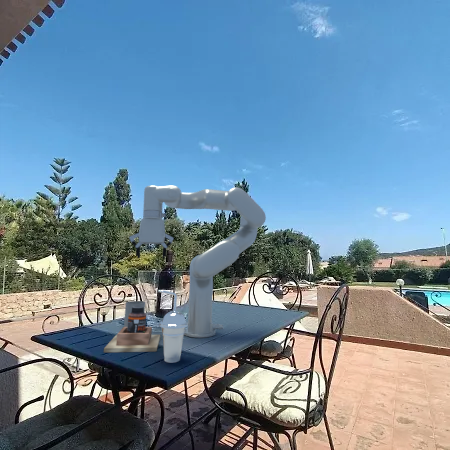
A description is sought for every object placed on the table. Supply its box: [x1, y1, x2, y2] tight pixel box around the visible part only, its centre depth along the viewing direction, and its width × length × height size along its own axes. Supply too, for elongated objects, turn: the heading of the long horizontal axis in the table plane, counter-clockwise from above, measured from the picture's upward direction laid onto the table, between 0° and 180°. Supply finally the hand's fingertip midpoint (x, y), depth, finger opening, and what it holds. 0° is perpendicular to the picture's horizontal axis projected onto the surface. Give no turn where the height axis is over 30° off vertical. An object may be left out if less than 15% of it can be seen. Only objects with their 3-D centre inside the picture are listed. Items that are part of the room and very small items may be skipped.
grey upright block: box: [123, 300, 146, 327], centre depth 123 cm, size 8×8×10 cm
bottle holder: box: [103, 326, 161, 354], centre depth 95 cm, size 16×16×5 cm
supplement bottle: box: [127, 306, 147, 333], centre depth 96 cm, size 6×6×11 cm
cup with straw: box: [157, 289, 188, 363], centre depth 83 cm, size 8×9×20 cm
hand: (151, 258), depth 111 cm, fingers open, 9 cm apart
